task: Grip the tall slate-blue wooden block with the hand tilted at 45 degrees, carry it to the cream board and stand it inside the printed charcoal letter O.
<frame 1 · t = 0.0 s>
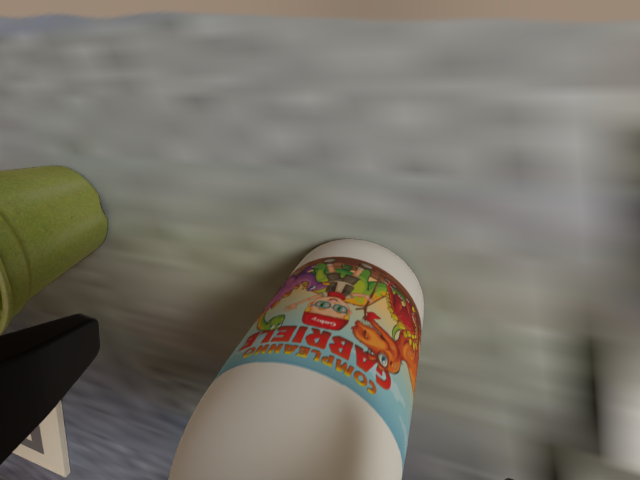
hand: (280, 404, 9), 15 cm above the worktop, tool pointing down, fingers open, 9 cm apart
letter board: (4, 399, 40), on the worktop
milk bottle: (357, 293, 25), on the worktop
plant pot: (73, 207, 28), on the worktop
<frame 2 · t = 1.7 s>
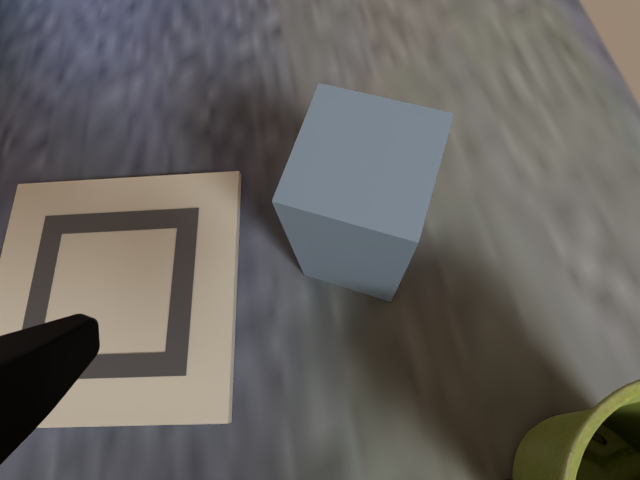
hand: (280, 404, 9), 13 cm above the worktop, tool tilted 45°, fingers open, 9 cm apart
blue block: (359, 247, 24), on the worktop
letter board: (116, 291, 24), on the worktop
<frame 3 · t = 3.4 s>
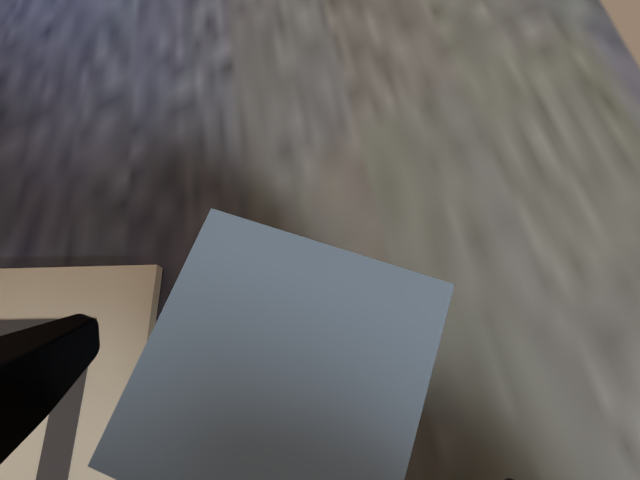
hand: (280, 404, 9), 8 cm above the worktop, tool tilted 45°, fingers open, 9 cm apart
blue block: (318, 384, 17), on the worktop
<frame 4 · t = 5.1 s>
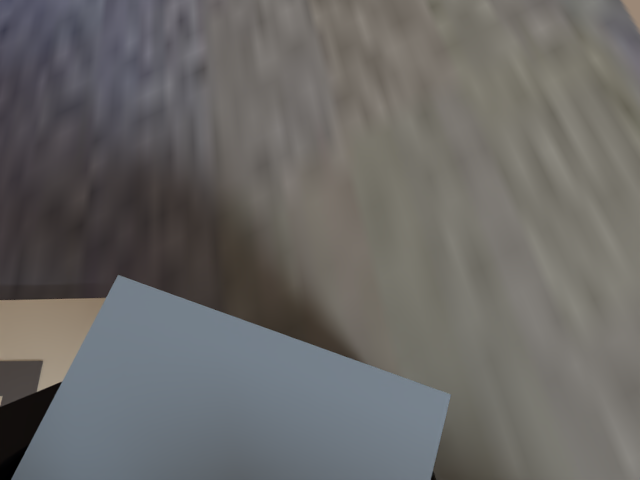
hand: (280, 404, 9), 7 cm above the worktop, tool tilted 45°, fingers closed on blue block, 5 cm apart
blue block: (296, 439, 14), on the worktop, touching gripper
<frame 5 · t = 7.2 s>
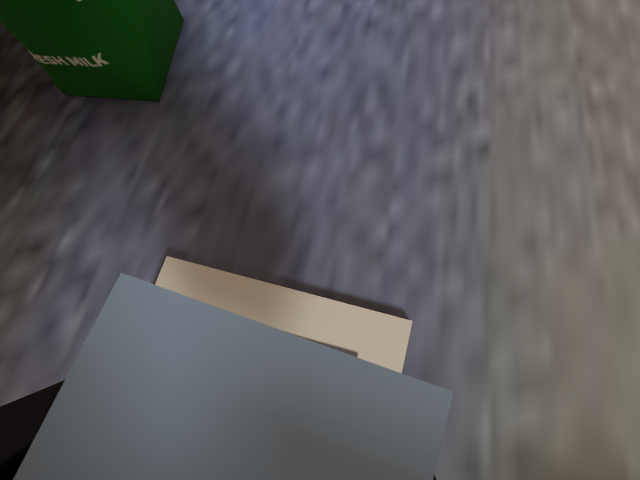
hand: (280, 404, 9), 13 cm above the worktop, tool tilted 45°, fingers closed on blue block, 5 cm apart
blue block: (297, 438, 14), point 7 cm above the worktop, touching gripper
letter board: (244, 421, 21), on the worktop
milk carton: (126, 60, 30), on the worktop
when the fingers open (8 cm above the worktop, at t = 9.5 s): blue block drops 1 cm, resting on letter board.
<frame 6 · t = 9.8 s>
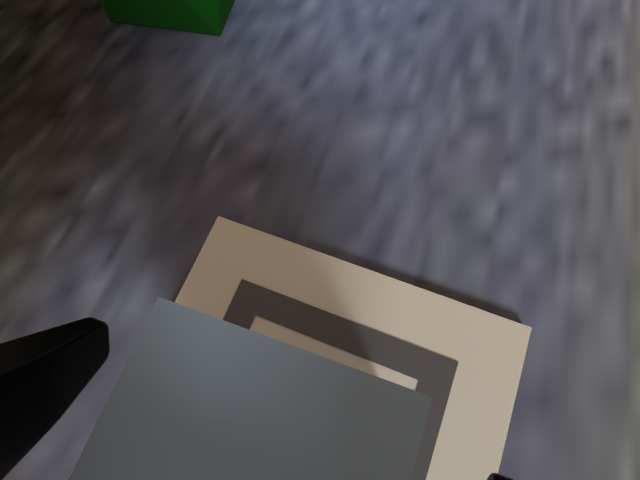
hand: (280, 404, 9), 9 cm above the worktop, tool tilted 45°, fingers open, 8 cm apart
blue block: (300, 436, 16), point 1 cm above the worktop, touching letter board
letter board: (302, 434, 16), on the worktop
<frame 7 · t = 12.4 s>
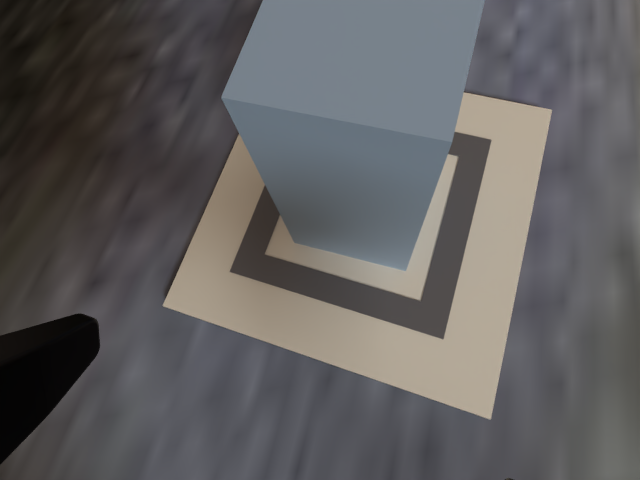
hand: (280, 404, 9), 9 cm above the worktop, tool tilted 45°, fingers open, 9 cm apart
blue block: (363, 205, 19), point 1 cm above the worktop, touching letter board
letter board: (363, 210, 19), on the worktop
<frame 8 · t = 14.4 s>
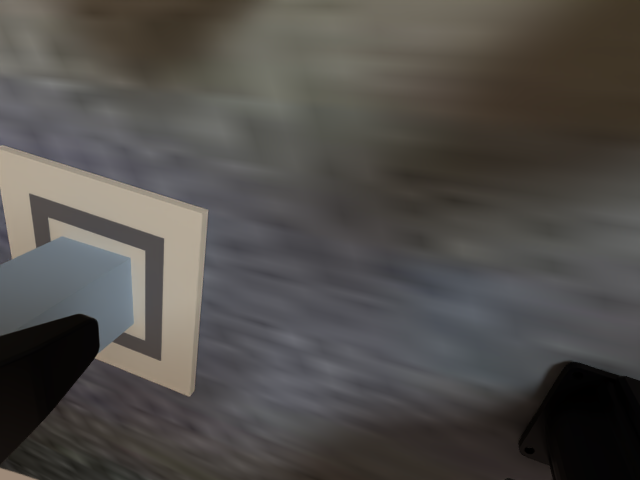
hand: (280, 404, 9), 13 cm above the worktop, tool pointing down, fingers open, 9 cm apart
blue block: (98, 280, 27), point 1 cm above the worktop, touching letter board
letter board: (105, 276, 27), on the worktop
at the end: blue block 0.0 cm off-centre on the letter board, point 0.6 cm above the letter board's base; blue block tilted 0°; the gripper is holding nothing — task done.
